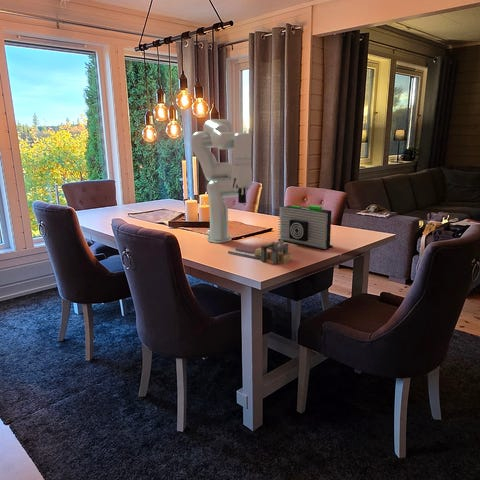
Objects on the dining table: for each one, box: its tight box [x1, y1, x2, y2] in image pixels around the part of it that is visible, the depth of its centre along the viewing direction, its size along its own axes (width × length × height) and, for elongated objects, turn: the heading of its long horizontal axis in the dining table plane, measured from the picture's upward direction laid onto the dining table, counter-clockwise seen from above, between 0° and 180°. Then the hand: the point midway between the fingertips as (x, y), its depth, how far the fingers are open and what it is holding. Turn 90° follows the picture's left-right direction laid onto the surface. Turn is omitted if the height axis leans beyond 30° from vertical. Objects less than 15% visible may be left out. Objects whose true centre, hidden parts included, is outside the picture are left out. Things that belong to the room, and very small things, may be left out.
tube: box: [254, 247, 292, 265], centre depth 178 cm, size 16×4×4 cm, turn 52°
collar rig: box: [260, 240, 289, 265], centre depth 176 cm, size 8×11×8 cm
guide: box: [227, 247, 261, 261], centre depth 185 cm, size 19×7×1 cm, turn 53°
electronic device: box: [277, 204, 334, 252], centre depth 199 cm, size 28×11×20 cm, turn 45°
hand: (242, 202), depth 184 cm, fingers closed
